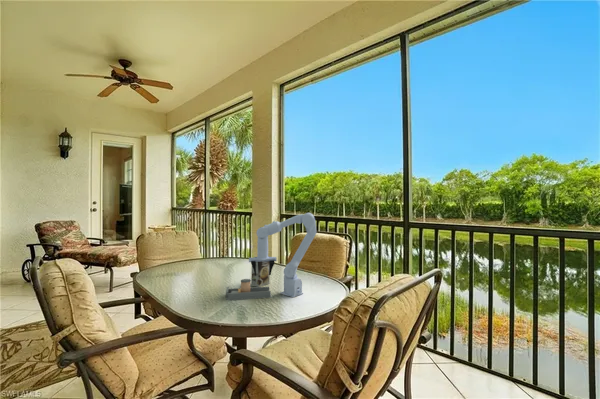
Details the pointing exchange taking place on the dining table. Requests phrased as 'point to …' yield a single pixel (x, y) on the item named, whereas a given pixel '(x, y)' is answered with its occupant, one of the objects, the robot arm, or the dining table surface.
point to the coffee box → (260, 274)
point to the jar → (245, 285)
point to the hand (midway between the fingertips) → (262, 274)
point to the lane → (248, 293)
